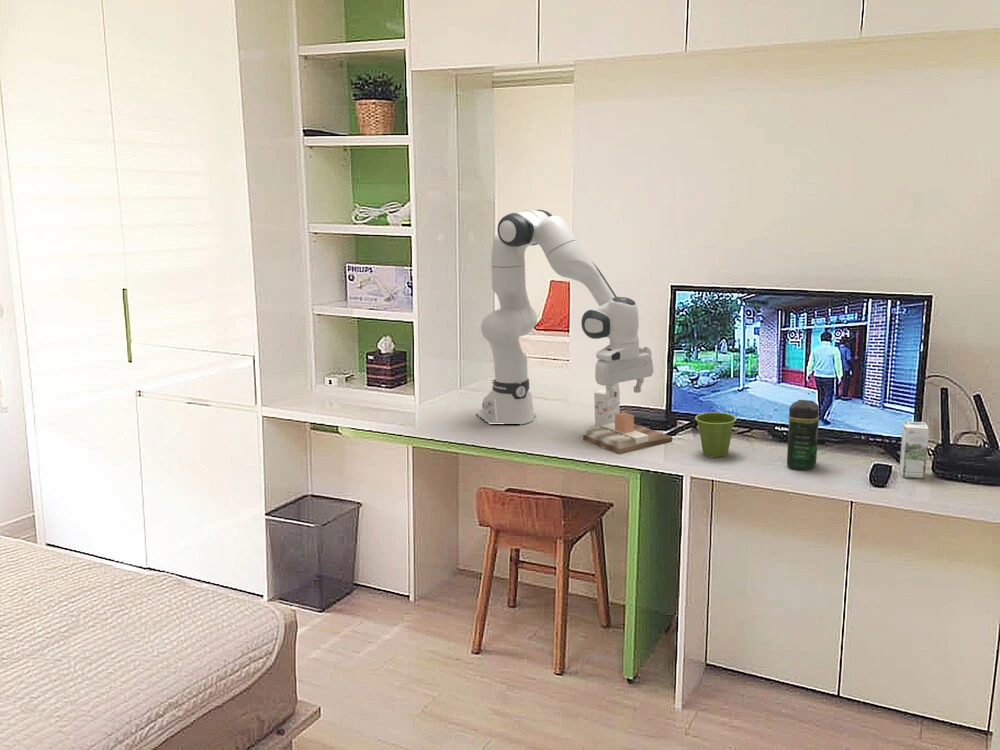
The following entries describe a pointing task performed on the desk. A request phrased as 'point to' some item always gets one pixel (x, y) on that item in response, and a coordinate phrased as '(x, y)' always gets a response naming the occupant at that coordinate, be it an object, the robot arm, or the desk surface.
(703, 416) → the plant pot
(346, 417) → the desk surface
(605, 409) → the ink cartridge box
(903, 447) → the syrup box
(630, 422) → the white bar with block
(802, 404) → the coffee jar
